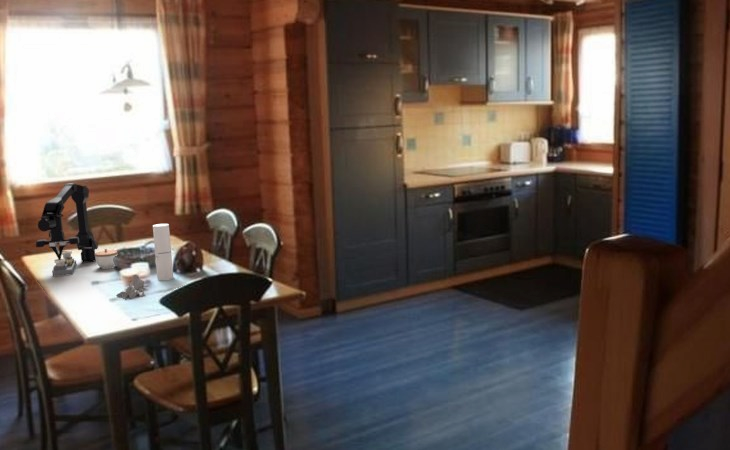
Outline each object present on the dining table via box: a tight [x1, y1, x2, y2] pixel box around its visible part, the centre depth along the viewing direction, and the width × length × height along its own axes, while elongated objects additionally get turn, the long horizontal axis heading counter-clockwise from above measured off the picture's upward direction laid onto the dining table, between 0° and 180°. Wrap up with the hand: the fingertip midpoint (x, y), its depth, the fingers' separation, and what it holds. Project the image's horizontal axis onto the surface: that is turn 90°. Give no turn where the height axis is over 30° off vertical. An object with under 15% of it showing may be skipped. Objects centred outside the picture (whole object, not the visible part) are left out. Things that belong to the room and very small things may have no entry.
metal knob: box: [66, 256, 73, 266], centre depth 347 cm, size 3×3×4 cm
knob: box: [54, 258, 65, 267], centre depth 341 cm, size 5×5×6 cm
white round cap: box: [61, 249, 73, 261], centre depth 352 cm, size 5×5×6 cm
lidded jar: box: [95, 248, 119, 270], centre depth 351 cm, size 11×11×9 cm
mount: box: [51, 258, 77, 277], centre depth 348 cm, size 9×21×4 cm, turn 17°
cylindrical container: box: [152, 223, 174, 281], centre depth 323 cm, size 7×7×25 cm
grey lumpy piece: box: [115, 274, 149, 301], centre depth 301 cm, size 20×10×9 cm
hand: (59, 259), depth 340 cm, fingers closed, pressing on knob
